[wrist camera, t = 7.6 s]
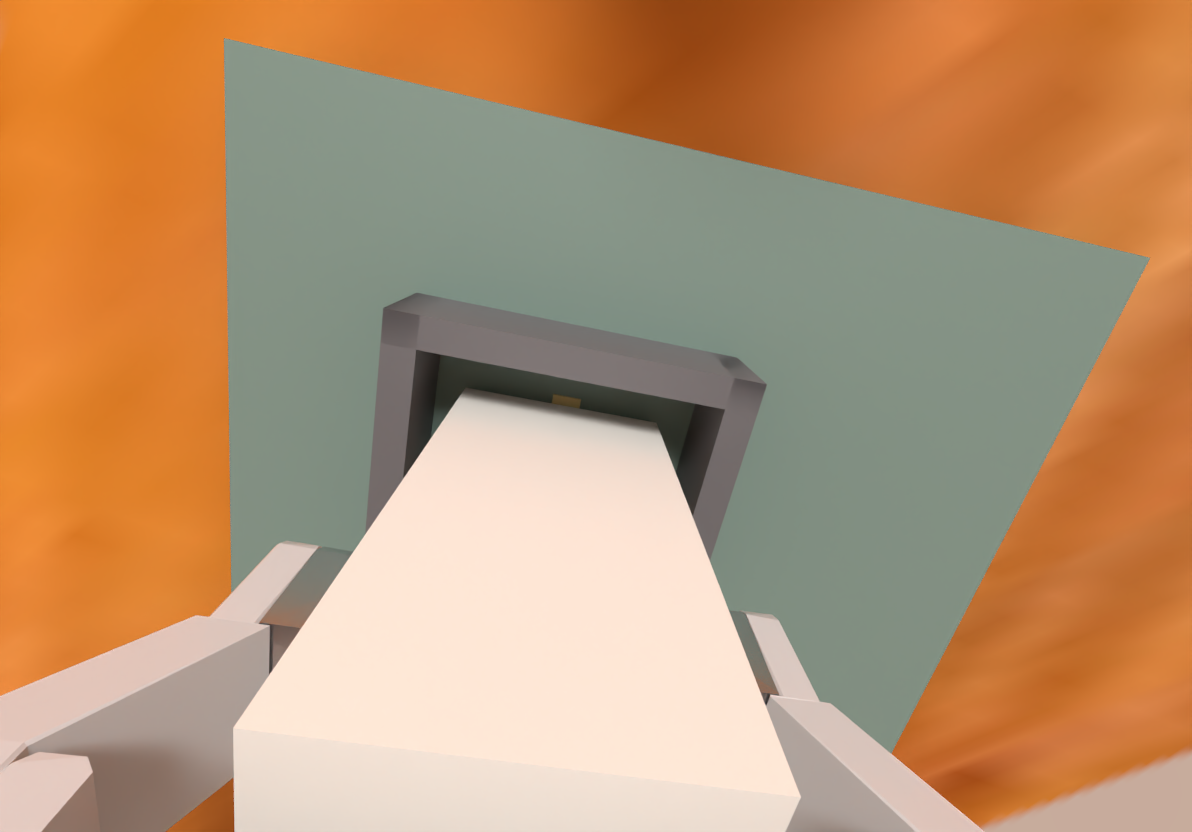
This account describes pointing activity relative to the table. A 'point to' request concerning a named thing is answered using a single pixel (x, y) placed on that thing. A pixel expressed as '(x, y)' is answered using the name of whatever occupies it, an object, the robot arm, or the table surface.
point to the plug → (519, 653)
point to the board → (649, 346)
